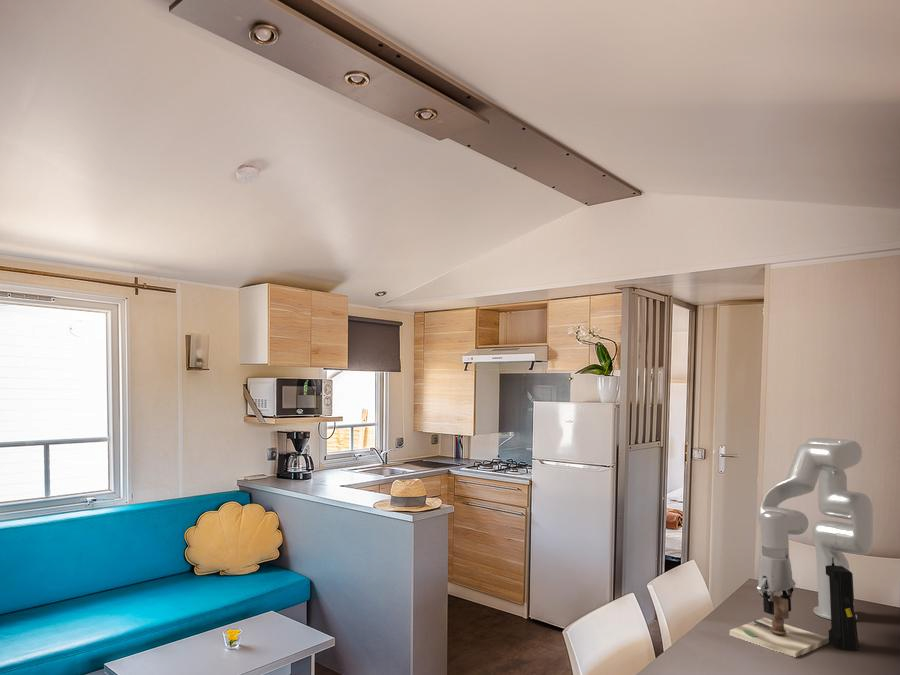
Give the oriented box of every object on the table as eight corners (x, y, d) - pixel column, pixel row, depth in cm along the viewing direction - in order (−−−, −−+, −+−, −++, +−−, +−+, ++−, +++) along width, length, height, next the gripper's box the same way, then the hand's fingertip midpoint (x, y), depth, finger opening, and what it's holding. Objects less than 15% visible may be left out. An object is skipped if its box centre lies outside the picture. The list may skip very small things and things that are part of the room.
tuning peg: (792, 635, 188) (790, 599, 189) (782, 637, 186) (780, 600, 187) (759, 622, 198) (758, 588, 199) (749, 624, 196) (748, 589, 197)
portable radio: (861, 652, 180) (857, 564, 182) (839, 651, 181) (835, 563, 183) (850, 642, 187) (846, 558, 190) (828, 640, 189) (824, 556, 191)
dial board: (764, 622, 203) (763, 617, 204) (828, 642, 187) (828, 637, 187) (729, 635, 192) (729, 629, 192) (795, 658, 176) (795, 651, 176)
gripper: (783, 547, 199) (785, 604, 197) (745, 552, 192) (747, 611, 190) (805, 552, 192) (807, 611, 190) (766, 558, 185) (768, 619, 183)
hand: (777, 611), depth 190 cm, fingers open, 6 cm apart
